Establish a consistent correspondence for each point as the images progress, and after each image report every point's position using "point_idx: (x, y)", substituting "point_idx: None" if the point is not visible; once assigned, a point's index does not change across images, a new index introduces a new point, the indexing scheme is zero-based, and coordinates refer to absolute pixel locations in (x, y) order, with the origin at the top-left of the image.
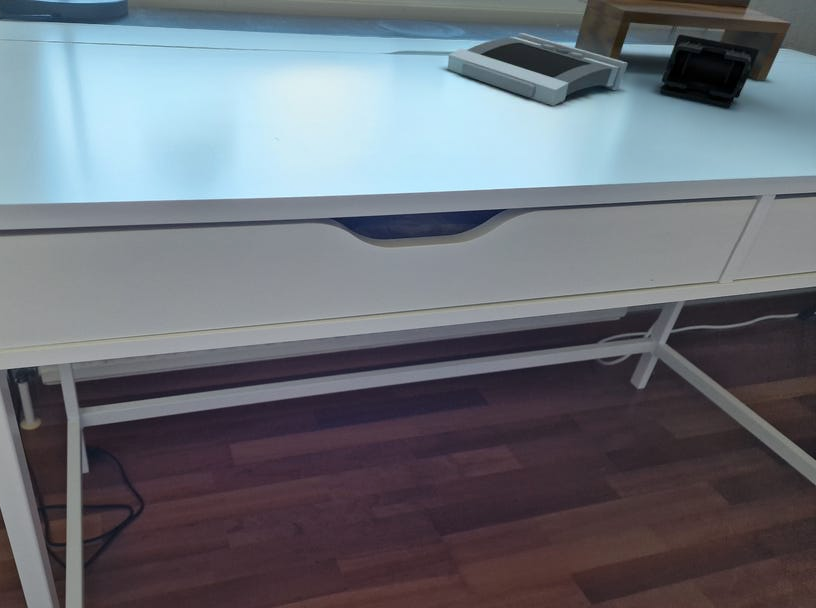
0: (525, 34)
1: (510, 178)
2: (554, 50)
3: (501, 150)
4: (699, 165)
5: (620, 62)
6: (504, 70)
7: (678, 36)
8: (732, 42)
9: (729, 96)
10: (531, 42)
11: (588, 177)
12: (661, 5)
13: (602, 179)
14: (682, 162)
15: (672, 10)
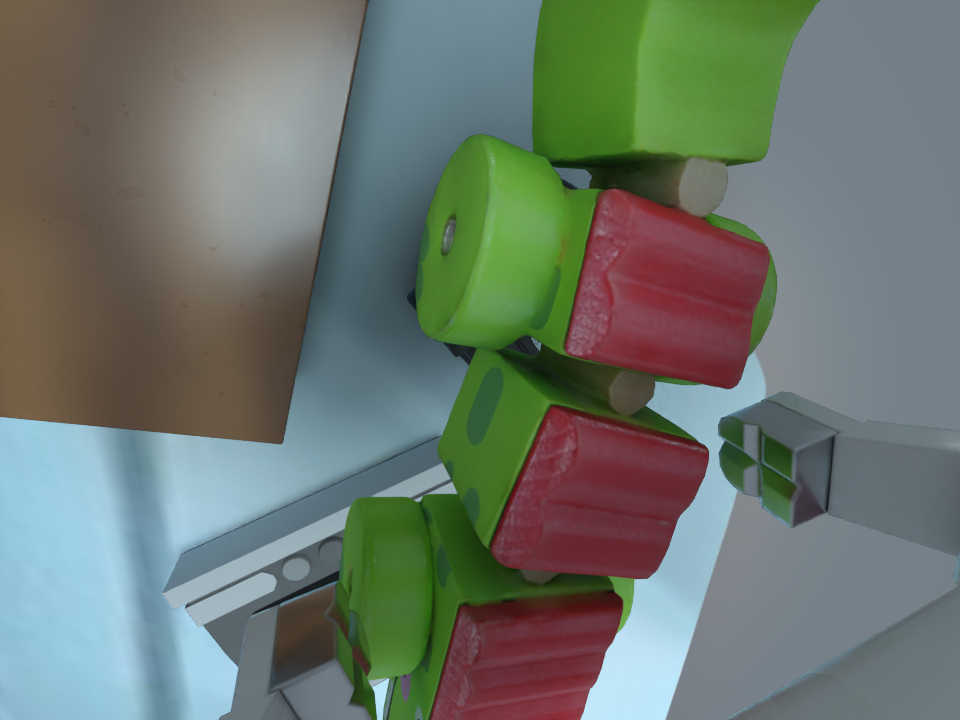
0: (183, 593)
1: (662, 685)
2: (314, 557)
3: (612, 681)
4: (706, 502)
5: (450, 478)
6: None
7: (457, 355)
8: None
9: None
10: (249, 590)
11: (684, 624)
12: (114, 178)
13: (691, 614)
14: (694, 516)
15: (236, 216)
